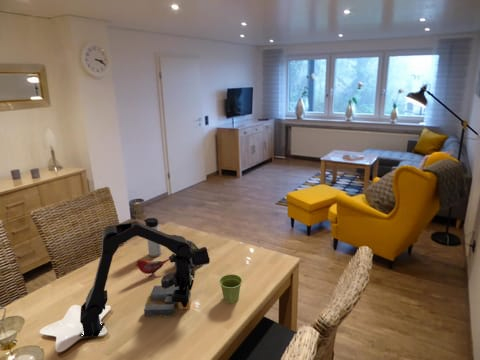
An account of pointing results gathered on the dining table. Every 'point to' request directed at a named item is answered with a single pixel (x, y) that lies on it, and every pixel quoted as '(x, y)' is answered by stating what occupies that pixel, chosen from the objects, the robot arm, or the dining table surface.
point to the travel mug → (152, 246)
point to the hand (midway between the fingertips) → (185, 303)
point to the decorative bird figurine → (149, 266)
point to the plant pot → (230, 287)
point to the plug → (178, 304)
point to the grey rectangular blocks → (158, 295)
